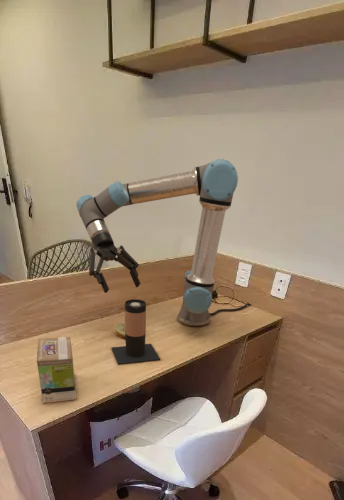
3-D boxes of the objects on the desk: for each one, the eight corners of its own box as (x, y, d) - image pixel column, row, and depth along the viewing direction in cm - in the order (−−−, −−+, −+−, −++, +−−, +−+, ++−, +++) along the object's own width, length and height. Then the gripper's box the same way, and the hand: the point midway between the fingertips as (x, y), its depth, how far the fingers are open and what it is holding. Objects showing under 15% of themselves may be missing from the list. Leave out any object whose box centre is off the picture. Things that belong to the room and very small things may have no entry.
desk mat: (150, 344, 138) (150, 343, 138) (160, 360, 128) (160, 358, 128) (111, 348, 133) (111, 347, 133) (118, 365, 123) (118, 363, 123)
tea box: (77, 400, 104) (72, 357, 96) (42, 404, 101) (34, 361, 93) (74, 374, 116) (70, 335, 108) (43, 377, 113) (36, 337, 105)
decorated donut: (129, 342, 139) (129, 333, 137) (110, 334, 144) (109, 326, 142) (145, 334, 146) (145, 326, 144) (126, 327, 151) (126, 319, 149)
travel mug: (134, 346, 135) (134, 297, 124) (149, 352, 131) (150, 302, 120) (121, 353, 129) (120, 302, 118) (136, 359, 126) (136, 308, 115)
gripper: (125, 240, 136) (146, 288, 135) (66, 246, 122) (89, 298, 121) (132, 228, 130) (154, 278, 129) (71, 232, 116) (95, 288, 115)
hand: (123, 288), depth 125 cm, fingers open, 13 cm apart
